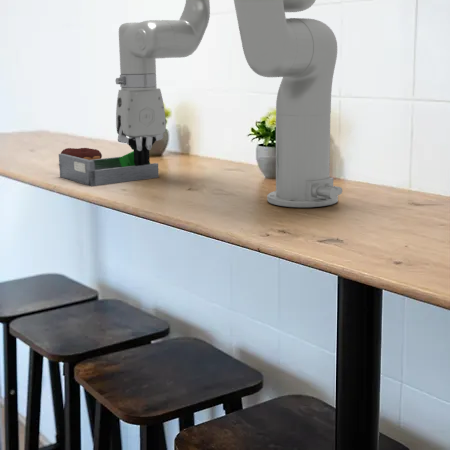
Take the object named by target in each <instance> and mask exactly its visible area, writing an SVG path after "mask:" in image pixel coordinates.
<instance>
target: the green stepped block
mask: <svg viewBox="0 0 450 450" xmlns="http://www.w3.org/2000/svg"><path fill="white" fill-rule="evenodd" d="M119 157H120V158H119V160H120V163H121V165H122V167H126V166H135V164H134V150H133V151H130V152H128V153H127V154H124V155H122V156H119ZM149 164H151V162H150V163H149Z"/></svg>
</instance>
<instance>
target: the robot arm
mask: <svg viewBox="0 0 450 450" xmlns="http://www.w3.org/2000/svg"><path fill="white" fill-rule="evenodd" d="M315 3H316V0H233V4H234V9H235V14H236V20H237V26H238V29H239V36H240V41H241V47H242V50H243V54H244V58H245V61H246V62H247V65H248V66H249V68H250V69H251V70H252V71H253V72H254V73H255V74H256V75H259V76H260V77H264V78H282V79H281V82H280V84H279V87H278V91H277V94H276V95H277V96H276V100H275V101H276V102H275V190H274V191H271V192H269V193H268V194H267V196H266V199H267V202H268V203H270V204H271V205H276V206H280V207H288V208H321V207H326V206H332V205H334V204H336V203H338V201H339V196H340V195H341V194H343V188H342V186H337V185H334V177H331V176H330V175H331V174H330V172H331V170H330V167H331V165H330V164H331V113H332V89H333V80H334V73H335V68H336V63H337V58H338V41H337V37H336V34H335V32H333V30H332V29H331V27H330V26H329V25H328V24H326V23H325V22H323V21H320V20H318V19H315V18H306V17H305V18H304V17H303V18H299V17H297V18H295V17H289V18H287V17H286V13H298V12H299V13H300V12H303V11H306V10H308V9H309V8H311V7H312V6H313V5H314V4H315ZM210 15H211V7H210V0H185V3H184V8H183V10H182V13H181V15H180V18H179V19H177V20H176V19H175V20H173V19H172V20H170V19H162V20H160V19H158V20H157V19H156V20H143V21H140V22H125V23H121V25H119V29H118V44H119V45H118V48H119V71H120V74H119V77H116V78H115V84H116V85H119V86H120V89H118V93H117V98H116V108H115V109H116V110H115V127H116V128H115V129H116V133H117V134H118V137H117V142H118V143H123V144H127V145H128V146H129V147H130V148H131V150H133V151H134V164H135V165H143V164H149V163H150V164H151V160H150V150H151V149H152V147H153V145H155V144H154V143H155V142H157V141H160V140H163V138H164V134H165V133H166V130H167V128H166V127H167V122H166V113H165V112H166V111H165V105H164V104H165V103H164V99H163V95H162V90H161V88H157V65H156V64H157V63H156V62H157V61H156V59H169V58H170V59H171V58H177V59H178V58H186V57H189V56H191V55H193V54H194V52H195V51H196V50H197V49H198V47H199V46H200V44H201V42H202V39H203V37H204V35H205V33H206V30H207V28H208V25H209V21H210V17H211V16H210Z"/></svg>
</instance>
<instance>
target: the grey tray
mask: <svg viewBox="0 0 450 450" xmlns="http://www.w3.org/2000/svg"><path fill="white" fill-rule="evenodd" d="M120 157H121V156H112V157H107V158H105V157H104V158H101V159H94V160H87V159H83V158H79V157H75V156H70V155H66V154H61V153H58V164H59V178H63V179H67V180H69V181H73V182H75V183H79V184H83V185H86V186H89V187H90V186H91V187H95V186H96V187H97V186H103V185H109V184H117V183H126V182H135V181H141V180H149V179H157V178H159V163H158V162H153V163H150V164H143V165H135V166H126V167H122V165H121V163H120V160H119V158H120Z"/></svg>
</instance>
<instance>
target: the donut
mask: <svg viewBox="0 0 450 450" xmlns="http://www.w3.org/2000/svg"><path fill="white" fill-rule="evenodd" d="M60 154H66V155H70V156H75V157H79V158H83V159H87V160H94V159H103V158H102V157H103V154H102V153H101V151H100V150H98V149H96V148H89V147H80V148H71V147H68V148H65V149H63V150H62V151H60Z"/></svg>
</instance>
